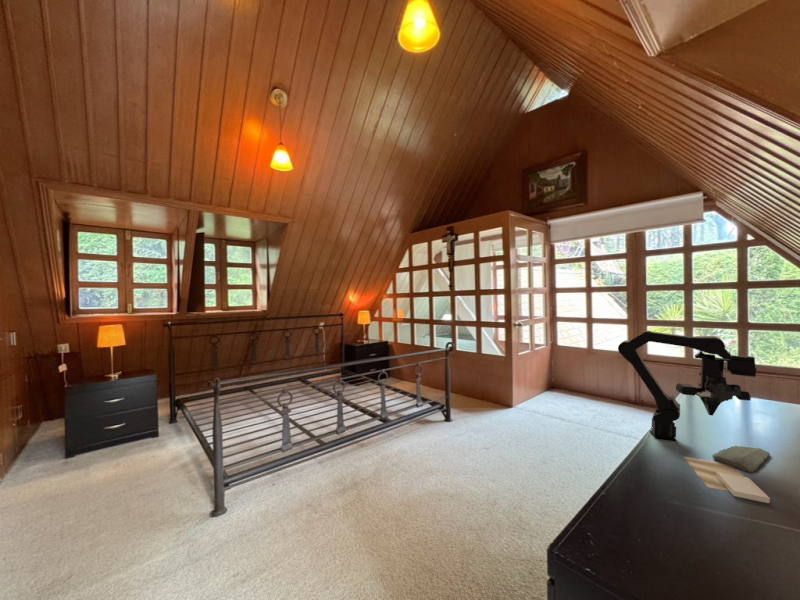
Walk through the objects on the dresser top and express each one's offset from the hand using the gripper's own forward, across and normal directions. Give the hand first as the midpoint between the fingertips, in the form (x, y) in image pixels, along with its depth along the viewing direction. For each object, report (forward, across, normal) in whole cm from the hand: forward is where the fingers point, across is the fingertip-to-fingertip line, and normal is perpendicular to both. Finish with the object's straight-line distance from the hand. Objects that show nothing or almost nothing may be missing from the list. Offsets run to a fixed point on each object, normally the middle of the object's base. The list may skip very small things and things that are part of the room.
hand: (710, 415), depth 114 cm
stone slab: (+12, +6, -5) cm, 15 cm away
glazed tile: (+11, -5, -23) cm, 26 cm away
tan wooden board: (+12, -7, -21) cm, 25 cm away
